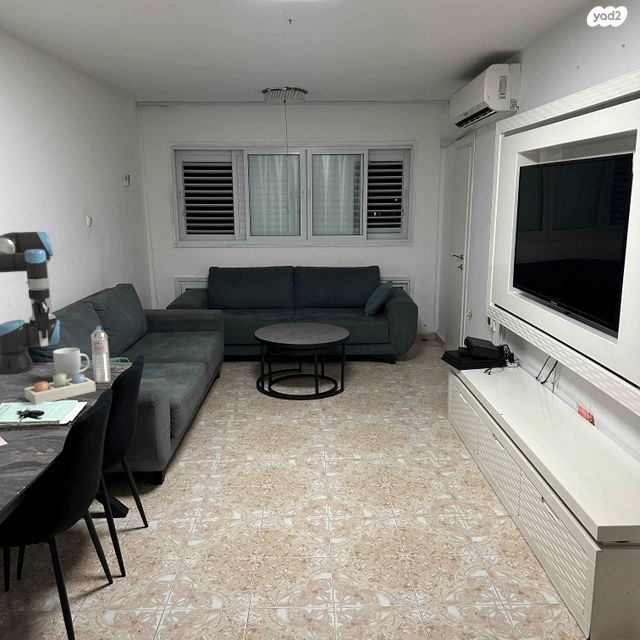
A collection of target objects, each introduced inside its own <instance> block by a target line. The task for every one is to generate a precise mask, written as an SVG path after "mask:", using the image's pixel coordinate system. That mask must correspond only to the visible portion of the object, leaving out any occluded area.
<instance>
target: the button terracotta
mask: <svg viewBox="0 0 640 640" xmlns="http://www.w3.org/2000/svg"><path fill="white" fill-rule="evenodd" d="M33 386H34V391H35V392H36V393H37V392H41V391H46V390H48V381H45V380H43V381H36V382H34V383H33Z"/></svg>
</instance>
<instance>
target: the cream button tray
mask: <svg viewBox="0 0 640 640" xmlns="http://www.w3.org/2000/svg"><path fill="white" fill-rule="evenodd" d="M96 388H97V387H96V382H95V380H91V379H90V378H88V377H86V376H85V382H83V383H78V384H72V379H67V386H65V387H60V388H54V384H53V382H49V383H48V390H46V391H41V392H37V393H36V392H35V391H34V385H33V386H29V387H25V388H23V389H24V398H25V399H26V400H28V401H29V402H31V403H32V404H34V405H36V404H37V405H40V404H39V403H42V404H44V403H43V402H46V403H50V402H54V401H59V400H62V399H67V398H71V397H75V396H76V397H77V396H81V395H84V394H89V393H94V392H96V391H97V390H96Z"/></svg>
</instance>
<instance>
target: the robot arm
mask: <svg viewBox="0 0 640 640" xmlns="http://www.w3.org/2000/svg"><path fill="white" fill-rule="evenodd" d="M53 256H54V253H53V247H52V244H51V240H50V236H49V233H47V232H45V231H17V232H15V231H12V232H8V233H4V234H2V235H0V273H14V272H15V273H17V272H26V282H25V283H26V284H27V289H28V290H27V292H28V299H30V304H31V312H32V313H31V314H32V315H31V316H30V317H29V319H28V320H29V322H25V319H15V320H9V321H6V322H2V323H0V374H1V375H9V374H10V375H13V374H14V375H15V374H19V373H25V372H29V371H30V370H33V369H34V363H33V360H32V359H31V356H30V355H29V352H28V348H33V347H45V346H46V347H47V346H51V345H56V344H58V343H59V341H60V328H61V326H60V323H61V322H60V320H59V319H57V316H56V315H54V314H53V309H52V299H51V289H50V288H51V287H50V277H49V267H48V264H49V262H50V261H51V257H53Z"/></svg>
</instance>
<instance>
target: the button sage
mask: <svg viewBox="0 0 640 640" xmlns="http://www.w3.org/2000/svg"><path fill="white" fill-rule="evenodd" d="M52 381H53V384H54V388H60V387H65V386H67V380H66V374H64V373H59V374H57V373H55V374H52Z"/></svg>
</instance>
